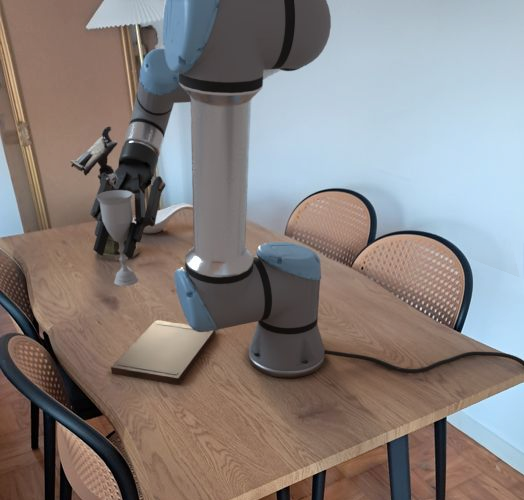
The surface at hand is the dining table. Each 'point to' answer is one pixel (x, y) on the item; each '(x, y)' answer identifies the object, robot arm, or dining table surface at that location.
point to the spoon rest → (165, 217)
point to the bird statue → (86, 163)
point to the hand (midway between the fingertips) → (112, 253)
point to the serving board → (163, 352)
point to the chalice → (118, 227)
